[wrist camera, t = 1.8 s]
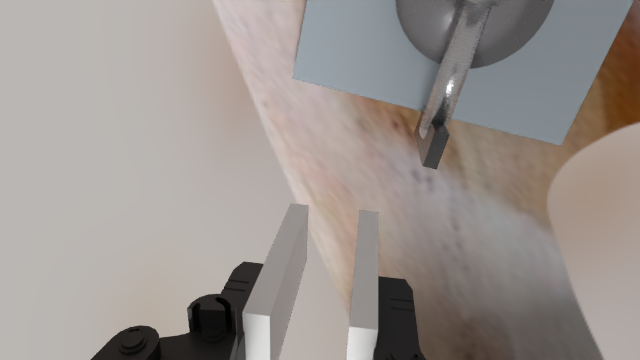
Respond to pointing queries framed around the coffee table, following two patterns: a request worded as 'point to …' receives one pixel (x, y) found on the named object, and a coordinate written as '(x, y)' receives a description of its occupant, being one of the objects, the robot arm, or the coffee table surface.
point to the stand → (481, 83)
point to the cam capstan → (462, 51)
